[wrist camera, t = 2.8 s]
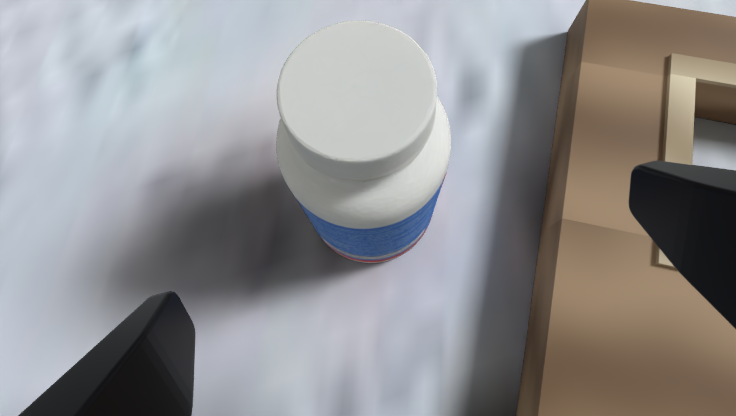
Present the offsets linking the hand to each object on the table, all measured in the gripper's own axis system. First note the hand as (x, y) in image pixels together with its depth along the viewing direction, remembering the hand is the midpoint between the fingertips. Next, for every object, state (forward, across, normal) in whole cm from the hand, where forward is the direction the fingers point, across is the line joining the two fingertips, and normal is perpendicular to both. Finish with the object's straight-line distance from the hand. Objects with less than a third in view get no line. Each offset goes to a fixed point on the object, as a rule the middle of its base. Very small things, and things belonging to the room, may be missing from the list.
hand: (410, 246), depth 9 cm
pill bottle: (+11, 0, +5) cm, 12 cm away
